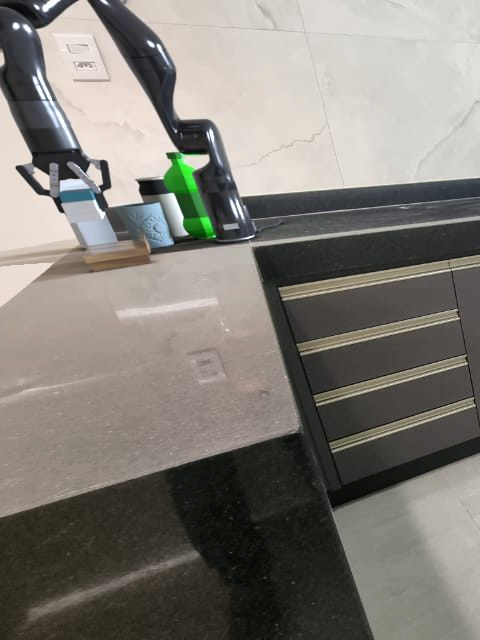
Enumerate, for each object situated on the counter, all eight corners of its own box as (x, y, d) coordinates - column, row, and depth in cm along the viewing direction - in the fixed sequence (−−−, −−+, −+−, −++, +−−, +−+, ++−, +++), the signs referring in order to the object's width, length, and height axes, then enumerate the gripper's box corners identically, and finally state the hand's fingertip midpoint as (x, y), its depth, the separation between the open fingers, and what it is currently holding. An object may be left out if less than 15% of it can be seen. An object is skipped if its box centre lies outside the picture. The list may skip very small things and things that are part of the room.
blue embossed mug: (174, 245, 155) (157, 203, 150) (130, 251, 150) (110, 208, 145) (178, 240, 163) (161, 200, 158) (135, 245, 158) (117, 204, 153)
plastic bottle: (192, 236, 168) (159, 152, 158) (231, 232, 172) (201, 150, 161) (181, 242, 160) (145, 154, 149) (222, 238, 163) (189, 151, 153)
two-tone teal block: (74, 216, 114) (61, 190, 112) (105, 213, 117) (93, 187, 115) (69, 223, 106) (55, 195, 104) (102, 219, 109) (89, 191, 107)
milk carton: (120, 245, 160) (89, 179, 152) (89, 250, 155) (55, 182, 147) (112, 243, 164) (82, 179, 156) (81, 248, 158) (48, 182, 150)
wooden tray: (95, 260, 141) (84, 239, 139) (152, 252, 148) (144, 231, 146) (91, 272, 129) (79, 249, 126) (154, 262, 136) (144, 240, 133)
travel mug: (164, 239, 165) (138, 179, 157) (155, 237, 169) (129, 179, 161) (194, 234, 171) (171, 176, 163) (184, 233, 175) (161, 176, 167)
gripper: (-12, 128, 98) (37, 220, 106) (92, 124, 107) (130, 210, 114) (-4, 128, 104) (41, 216, 111) (94, 124, 112) (131, 207, 119)
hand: (86, 213), depth 112 cm, fingers closed on two-tone teal block, 5 cm apart
